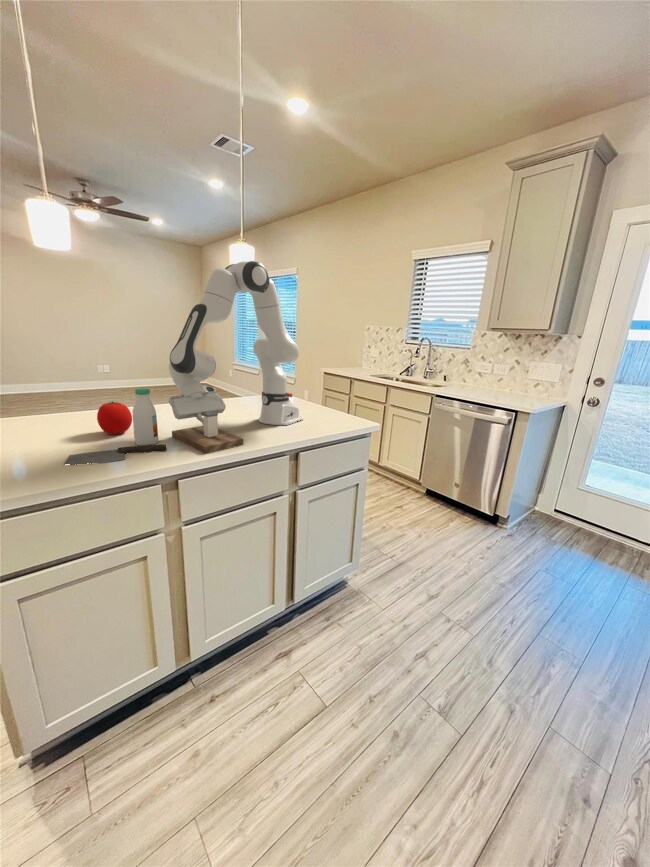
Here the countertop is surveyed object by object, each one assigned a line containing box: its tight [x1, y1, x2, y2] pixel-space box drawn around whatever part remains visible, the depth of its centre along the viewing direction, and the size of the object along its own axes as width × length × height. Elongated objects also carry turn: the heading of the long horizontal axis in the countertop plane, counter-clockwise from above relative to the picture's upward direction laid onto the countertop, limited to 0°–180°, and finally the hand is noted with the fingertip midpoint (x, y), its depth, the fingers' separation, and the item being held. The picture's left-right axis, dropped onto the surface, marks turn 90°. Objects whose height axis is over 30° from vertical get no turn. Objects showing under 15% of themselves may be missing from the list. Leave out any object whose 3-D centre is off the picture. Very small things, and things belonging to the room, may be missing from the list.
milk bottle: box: [132, 387, 159, 446], centre depth 127 cm, size 8×8×20 cm
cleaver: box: [63, 443, 168, 466], centre depth 116 cm, size 29×10×2 cm, turn 121°
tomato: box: [96, 401, 133, 435], centre depth 136 cm, size 12×12×13 cm
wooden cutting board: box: [171, 425, 244, 455], centre depth 136 cm, size 16×24×2 cm, turn 49°
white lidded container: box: [202, 412, 219, 437], centre depth 132 cm, size 4×3×9 cm
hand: (207, 424), depth 134 cm, fingers closed, pressing on white lidded container
